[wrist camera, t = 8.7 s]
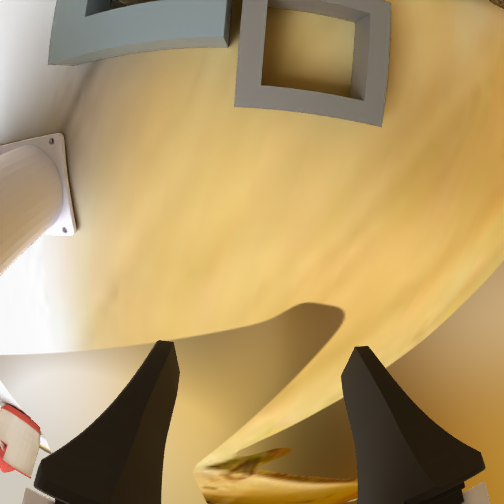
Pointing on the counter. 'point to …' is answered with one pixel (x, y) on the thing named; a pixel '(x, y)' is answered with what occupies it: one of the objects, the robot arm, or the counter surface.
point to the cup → (498, 3)
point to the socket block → (135, 28)
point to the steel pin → (135, 1)
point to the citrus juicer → (18, 441)
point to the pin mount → (296, 100)
